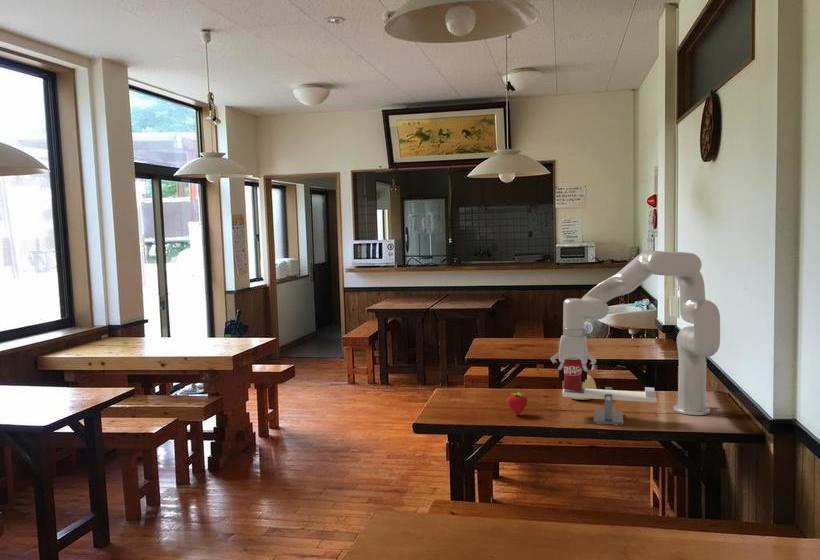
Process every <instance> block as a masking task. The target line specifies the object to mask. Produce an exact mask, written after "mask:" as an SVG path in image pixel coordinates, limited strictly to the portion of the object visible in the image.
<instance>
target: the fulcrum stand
mask: <svg viewBox="0 0 820 560" xmlns="http://www.w3.org/2000/svg"><path fill="white" fill-rule="evenodd" d="M604 388H605V389H604V390H613V387H611V386H605V387H604ZM594 423H602V424H601V425H604V424H617V425H616V426H619V425H623V426H624V412H623V411H619V410H613V400H612V394H605V399H604V409H603V410H602V409H594V411H593V424H594Z"/></svg>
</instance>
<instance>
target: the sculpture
mask: <svg viewBox="0 0 820 560" xmlns="http://www.w3.org/2000/svg"><path fill="white" fill-rule="evenodd" d="M583 388H585V389H597V385H596V382H595V380H594V378H593V377H592V376H591V375H589V374H587V380H585V382H583ZM569 398H570V399H573V400H582V401H585V400H587V401H588V400H592V398H577V397H569Z"/></svg>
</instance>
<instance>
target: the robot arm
mask: <svg viewBox="0 0 820 560" xmlns="http://www.w3.org/2000/svg"><path fill="white" fill-rule="evenodd" d="M702 265H703V264H702V260H701V258H700V257H699V256H698V255H697V254H695V253H693V252H685V251H684V252H683V251H671V252H670V251H661V250H644V251H642V252H641V253H639V254H638V255H636V256H635V257H634V258H633V259H632V260H631V261H629V262H628V263H627V264H626V265H625V266H624V267H622V268H621V270H619V271H618V272H617V273H615V274H614V275H612V276H610V277H608V278H607V279H605V280H603V281H602V282H600V283H598V284H597V285H596V286H594V287H593V288H591V289H590V290H589V291H588V292H587V293H586V294H584V295H583V296H582V297H581V298H570V297H569V298H566V299H564V301H563V306H562V308H563V309H562V310H563V312H562V313H563V316H562V317H563V318H562V321H563V322H562V335H561V336H560V340H559V346H558V347H559V348H558V352H557V353H555V354H554V355H552V356H551V357H550V358H549V360H550V361H551V362H552V364H553V366H555V368H557V370H558V379H560V382H563V364H564V360H565V359H566V358H568V359H580V360H581V364H582V367H583V382H585V380H587V375H588V371H589V370H590V369H592V367H594V365H595V364H596V363H597V359H596V358H594V357H593V356H592V355H591V354H590V353H589V348H588V347H589V346H588V338H587V336H586V335H589V332H590V331H589V330H588V329H586V328H585V324H586V323H585V319H588V320H590V319H591V320H596V321H597V320H603V319H604V318H606V317H607V315H608V314H609V310H610V308H609V305H608V304H607V303H608V302H610V300H612V299H614V298H616V297H617V298H618V297H619V296H624V295H628V294H630V293H632V292H633V291H635V290H636V289H637V288H638V287H640V285H642V284H643V283H644V282H645V281H646V280H648V279H649V278H650V277H651V276H652V275H654V276H662V277H663V276H664V277H675V279H676V280H677V282H678V285H679V286H678V287H679V314H680V317H681V319H682V320H683V321H684V322H686V323H689V324H692V325H690V326H685V327H683V328H681V329H680V330H679V331H678V333H677V336H676V348H677V355H678V374H677V375H678V376H677V377H678V382H677V383H678V385H677V387H678V388H677V392H678V394H677V399H678V400H677V404H675V405H673V410H674V412H677V413H679V414H683V415H689V416H705V415H709V414H710V413H711V409H710V408H709V406H706V405H707V402H708V401H709V397H707V365H708V364H707V358H709V357H712V356H714V355H715V354H716V353H718V351H719V349H720V345H721V314H720V311H719V308H718V306H717V305H716V304H715V303H714V302H712V301H711V300H709V299H708V300H707V299H706V288H705V280H704V277H703V275H702V273H701V270H702ZM557 358H558V361H559V362H558V361H557V360H556V359H557ZM588 360H590V363H589V364H587V363H588Z"/></svg>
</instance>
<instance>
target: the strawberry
mask: <svg viewBox="0 0 820 560" xmlns="http://www.w3.org/2000/svg"><path fill="white" fill-rule="evenodd" d="M517 390H518V392H514V393H513V392H512V393H510V395H509V396H508V397H507V400H506V402H507V405H508V407H509V408H510V410H511V411H512V412H513V413H514V414H515V415H516V416H520V415H521V413H523V411H525V409H526V407H527V405H528V398H527V397H526V396H525V395H526V394H524V393H522V392H520V391H519V388H517Z"/></svg>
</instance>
